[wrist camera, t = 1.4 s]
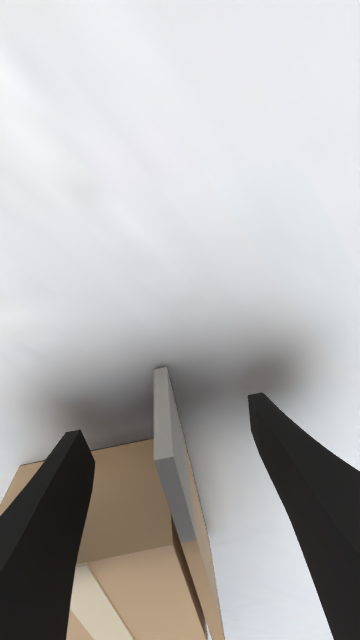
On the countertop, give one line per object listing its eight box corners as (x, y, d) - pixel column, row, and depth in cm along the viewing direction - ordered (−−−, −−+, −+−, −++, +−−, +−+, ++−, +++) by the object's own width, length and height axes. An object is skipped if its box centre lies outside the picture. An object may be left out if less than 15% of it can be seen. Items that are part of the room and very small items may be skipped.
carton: (195, 539, 19) (209, 651, 14) (82, 562, 19) (57, 683, 14) (166, 435, 14) (172, 547, 10) (19, 465, 14) (-44, 592, 10)
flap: (208, 539, 18) (225, 642, 14) (200, 540, 18) (214, 645, 14) (166, 366, 12) (173, 456, 8) (153, 369, 12) (153, 460, 8)
